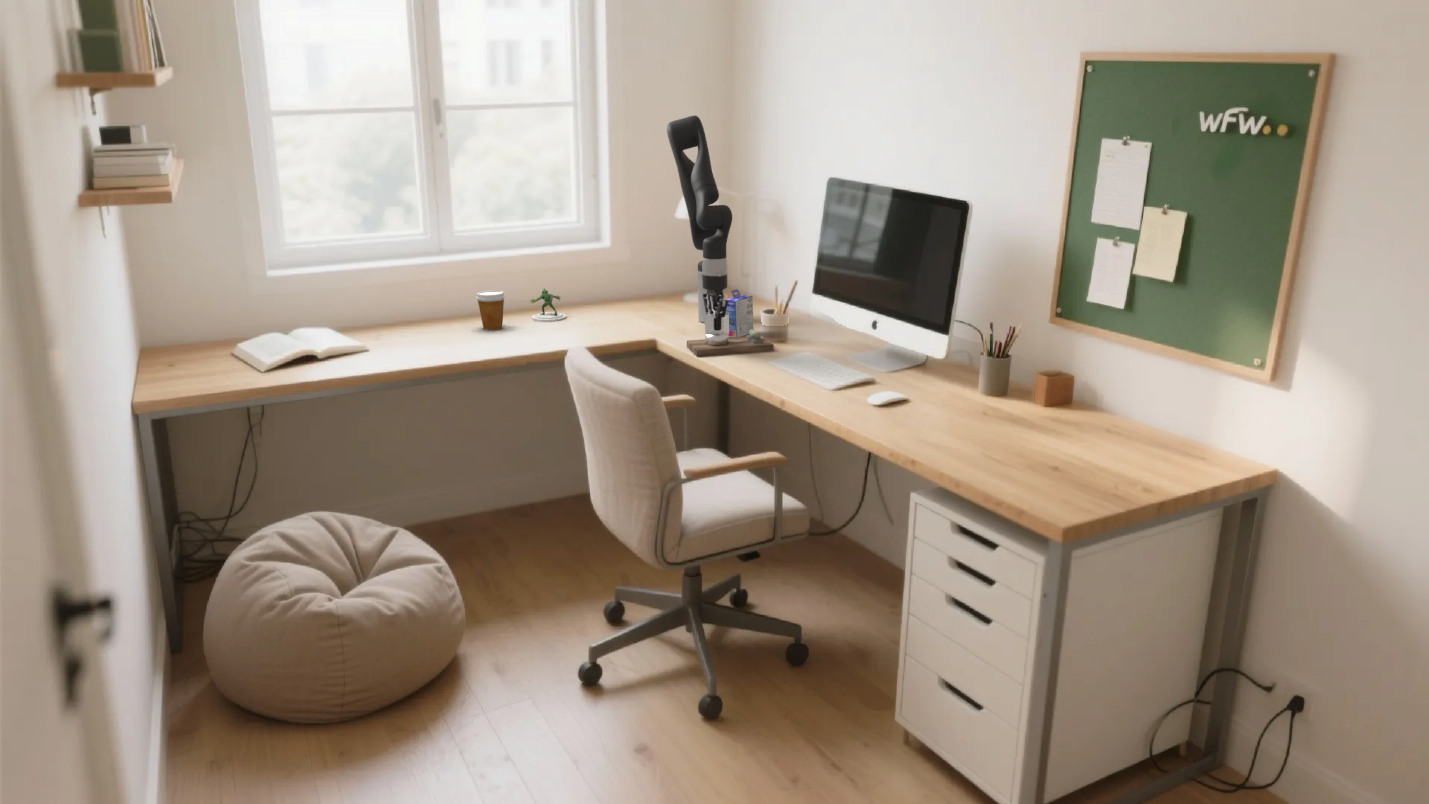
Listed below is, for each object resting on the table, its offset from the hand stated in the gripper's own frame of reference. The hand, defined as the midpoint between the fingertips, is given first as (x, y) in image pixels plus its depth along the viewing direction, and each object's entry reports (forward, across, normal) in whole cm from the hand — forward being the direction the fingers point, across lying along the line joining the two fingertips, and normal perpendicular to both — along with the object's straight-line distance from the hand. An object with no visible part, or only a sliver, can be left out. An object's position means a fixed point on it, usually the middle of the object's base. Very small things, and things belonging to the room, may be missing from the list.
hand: (715, 328), depth 337 cm
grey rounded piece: (+5, 0, 0) cm, 5 cm away
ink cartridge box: (+7, -16, +15) cm, 23 cm away
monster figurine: (+7, -69, -32) cm, 77 cm away
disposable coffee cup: (+7, -63, -54) cm, 83 cm away
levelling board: (+7, +1, +4) cm, 8 cm away
